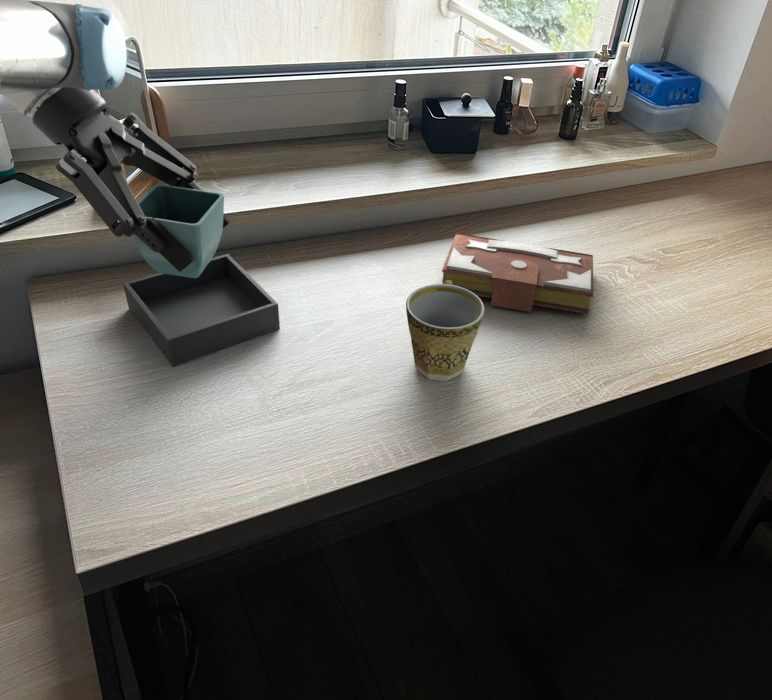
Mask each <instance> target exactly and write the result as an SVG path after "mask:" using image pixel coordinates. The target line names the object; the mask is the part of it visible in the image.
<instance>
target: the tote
mask: <svg viewBox="0 0 772 700" xmlns="http://www.w3.org/2000/svg"><path fill="white" fill-rule="evenodd" d="M122 285H123V289H124V294H125V299H126V303H127V306H128V310H129V311H130V312H131V313H132V315H133V316H134V317H135V319H136V320H137V322H138V323H139V324H140V325H141V327H142V328H143V329H144V331H146V334H147V335H148V336H149V337H150V339H151V340H152V342H153V343H154V344H155V345H156V347H157V348H158V349H159V350H160V352H161V353H162V355H163V356H164V357H165V358H166V360H167V361H168V363H169V364H170V365H171V366H172V367H173V368H174V367H176V366H179V365H182V364H184V363H185V364H186V363H188V362H191V361H193V360H196V359H199V358H202V357H205V356H208V355H210V354H213V353H216V352H218V351H222V350H225V349H228V348H230V347H234V346H236V345H238V344H242V343H244V342H247V341H250V340H252V339H255V338H258V337H261V336H265V335H267V334H269V333H272V332H276V331H278V330H280V329H281V327H280V326H281V324H280V323H281V321H280V310H279V309H280V308H279V303H278V302H277V301H276V300H275V299H274V298H273V297H272V296H271V295H270V294H269V293H268V292H267V291H266V290H265V289H264V288H263V287H262V286H261V285H260V284H259V283H258V282H257V281H256V280H255V279H254V278H253V277H252V276H251V275H250V274H249V273H248V272H247V271H246V270H245V269H244V268H243V267H242V266H241V265H240V264H239V263H238V261H236V260H235V259H234V258H233V257H232V256H231V255H230V254H229V253H225V254H222V255H218V256H214V257H212V259H211V261H210V262H209V263H208V265H207V266H206V267H205V269H204V270H203V271H202V273H201V274H200V276H199V277H197V278H190V277H183V276H177V275H170V274H163V273H159V272H157V273H153V274H151V275H146V276H144V277H140V278H136V279H133V280H129V281H126V282H123V283H122Z"/></svg>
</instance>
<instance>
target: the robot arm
mask: <svg viewBox="0 0 772 700" xmlns="http://www.w3.org/2000/svg"><path fill="white" fill-rule="evenodd" d="M127 58H128V57H127V45H126V38H125V35H124V31H123V29H122V26H121V24H120V22H119V21H118V20H117V18H116V16H114V15H113V13H112V12H111V11H109V10H107V9H105V8H100V7H93V6H87V5H82V4H81V3H74V4H72V3H71V4H69V3H61V2H52V1H40V0H0V96H3V97H4V98H5V99H6V100H7V101H8V102H9V103H10V104H11V105H12V106H13V107H14V108H15V109H16V110H17V111H18V112H19V113H21V114H22V115H23V116H24V117H29V118H30V117H32V119H31V120H32V121H31V122H32V125H33V126H35V127H36V128H37V129H38V130H39V131H40V132H41V133H42V134H43V135H45V137H46V138H47V139H48V140H49V141H50V142H52V143H53V144H54V145H56V146H64V147H65V148H66V150H67V152H66V153H65V154H64V155H63V156H62V157H61V159H60V160H59V161H58V162H57V163H56V164H55V168H56V170H57V171H58V172H59V173H61V174H62V175H63V176H64V177H65V178H67V180H69V181H70V182H72V183H73V185H74V186H75V187H76V188H77V190H78V192H80V194H81V195H82V196H83V197H84V199H85V200H86V201H87V202H88V204H89V205H90V206H91V208H92V209H93V210H94V211H95V213H96V214H97V215H98V216H99V217H100V219H101V220H102V222H103V223H104V224H105V225H106V226H107V228H108V229H109V230H110V231H111V233H112V234H113V235H114V236H116V237H118V238H119V237H123V235H124V236H125V237H127V238H130V237H133V234H135V235H137V236H138V237H139V238H140V239H141V240H142V241H143V242H144V243H145V244H146V245H147V246H149V248H150V249H152V250H153V251H154V252H156V253H157V252H159V253H160V254H161V255H162V256H163V257H164V258H165V259H166V260H167V261H168V262H170V263H171V264H172V265H173V266H174V267H175V268H176V269H177V270H178V271H179V272H181V271H182V270H183V269H185V268H186V267H187V266H188V265H189V264H191V263H192V262H193V261H194V260H195V259H196V258H195V257H194V256H193V255H192V254H191V253H190V252H189V251H188V250H187V249H186V248H185V247H184V246H183V245H181V244H180V243H179V242H178V241H177V240H176V239H175V238H174V237H173V236H172V235H171V234H170V233H169V232H168V231H167V230H166V229H165V228H164V227H163V226H162V225H161V224H160V223H158V222H157V221H156V220H155V219H154V218H153V217H152V218H151V219H150V220H149V221H148V222H147V223H146V217H145V216H144V214H143V212H142V210H141V208H140V206H139V204H138V202H139V201H138V200H137V198H136V197H135V195H134V193H133V191H132V189H131V187H130V185H129V184H128V181H127V180H126V179H125V177H124V174H123V172H122V164H123V165H124V166H128V167H130V166H132V167H135V168H137V169H139V170H140V171H143V172H144V173H146V174H148V175H150V176H152V177H154V178H155V179H157V180H159V181H161V182H163V183H164V184H165V185H170V186H176V187H183V188H189V189H196V190H203V189H202V188H201V186H200V185H199V184H198V183H197V182H196V179H197V178H198V172H197V170H198V168H197V166H196V164H194V163H193V162H192V161H190V160H189V159H188V158H186V157H185V156H184V155H183V154H182V153H180V152H179V151H177V150H176V148H174V147H172V145H170V144H169V143H168V142H166V141H165V140H164V139H162V137H160V136H159V135H157V134H156V133H155V132H153V131H152V130H151V129H150V128H149V127H147V125H146V124H145V123H144V122H143V121H142V120H141V119H140V118H139V116H138V115H137V114H136V113H134V112H129V113H128V114H127V115H126V117H124V118H123V119H120V120H119V119H118V118H116V117H114V116H112V115H111V114H110V113H108V112H107V111H108V110H107V109H106V107H107V103H106V100H105V99H104V98H103V97H102V96H101V95H100V94H99V93H98V92H97V90H98V91H99V90H100V91H111V90H112V91H113V90H115V89H117V88H118V87H119V86H120V85H121V84H122V82H123V81H124V78H125V76H126V70H127V65H128V59H127ZM132 216H133V217H132ZM231 222H232V220H231V219H230V218H229V217H228V216H227V215H226V214H225V213H224V214H223V229H224V228H226V227H227V226H228V225H229V224H230V223H231Z"/></svg>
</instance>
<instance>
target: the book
mask: <svg viewBox="0 0 772 700" xmlns="http://www.w3.org/2000/svg"><path fill="white" fill-rule="evenodd" d="M441 271H442V272H441V273H443V275H442V282H441V284H444V282H445V280H451V281H452V285H455V286H459V287H462V288H464V289H467V290H469V291H471V292H472V293H474V294H475V295H476V296H478V297H483V298H487V299H491V302H490V306H491V307H497V308H498V307H499V308H504V309H510V310H515V311H516V310H517V311H521V312H527V313H532V310H533V306H536V307H544V308H550V309H554V310H555V309H556V310H561V311H567V312H574V313H579V314H586V315H589V314H590V303H591V299H592V298H593V296H594V255H593V254H588V253H583V252H576V251H571V250H564V249H557V248H551V247H546V246H539V245H534V244H529V243H525V242H523V243H522V242H516V241H509V240H502V239H497V238H489V237H484V236H479V235H470V234H465V233H460V232H456V233H455V236H454V238H453V241H452V243H451V246H450V248H449V251H448V254H447V256H446V259H445V262H444V264H443V266H442V270H441Z"/></svg>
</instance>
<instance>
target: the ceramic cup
mask: <svg viewBox="0 0 772 700" xmlns="http://www.w3.org/2000/svg"><path fill="white" fill-rule="evenodd" d="M405 310H406V312H405V313H406V318H407V326H408V331H409V335H410V339H411V347H412V354H413V361H414V368H415V369H416V370H417V371H418V372H419V373H420V374H421V375H423V376H424V377H425V378H426V379H427V380H430V381H440V382H448V381H450V380H452V379H454V378H456V377H458V376H460V375H462V374H463V372H464V370H465V367H466V364H467V361H468V358H469V355H470V353H471V349H472V347H473V343H474V341H475V339H476V337H477V335H478V332H479V329H480V327H481V323H482V321H483V318H484V314H485V306H484V303H483V301H482V299H481V298H480V296H476V295H475V294H474V293H472V292H471V291H469V290H467V289H464V288H462V287H459V286H455V285H452V281H451V280H445V282H444V284H442V283H436V284H428V285H424V286H421V287H419V288H417V289H415V290H414V291H412V292H411V293H410V294H409V295H408V297H407V298H406V302H405Z"/></svg>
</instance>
